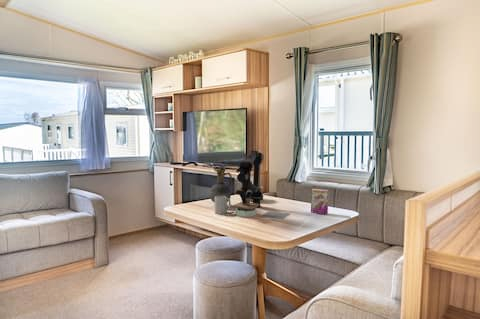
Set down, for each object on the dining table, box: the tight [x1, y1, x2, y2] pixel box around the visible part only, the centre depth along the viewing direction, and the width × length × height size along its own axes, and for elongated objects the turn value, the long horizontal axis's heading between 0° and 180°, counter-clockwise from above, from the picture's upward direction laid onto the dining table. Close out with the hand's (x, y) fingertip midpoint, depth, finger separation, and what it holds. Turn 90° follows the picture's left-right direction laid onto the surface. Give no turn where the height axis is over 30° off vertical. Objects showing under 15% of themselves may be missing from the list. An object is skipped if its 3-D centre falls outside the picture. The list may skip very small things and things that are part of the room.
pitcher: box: [209, 165, 233, 204], centre depth 256 cm, size 11×19×30 cm, turn 136°
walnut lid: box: [231, 198, 261, 210], centre depth 229 cm, size 14×14×5 cm
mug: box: [214, 196, 232, 215], centre depth 236 cm, size 12×8×11 cm
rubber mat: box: [260, 210, 291, 220], centre depth 229 cm, size 16×16×1 cm
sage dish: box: [235, 208, 257, 218], centre depth 230 cm, size 13×13×4 cm
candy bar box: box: [310, 188, 329, 215], centre depth 236 cm, size 11×5×16 cm, turn 71°
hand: (246, 203), depth 229 cm, fingers closed on walnut lid, 4 cm apart
